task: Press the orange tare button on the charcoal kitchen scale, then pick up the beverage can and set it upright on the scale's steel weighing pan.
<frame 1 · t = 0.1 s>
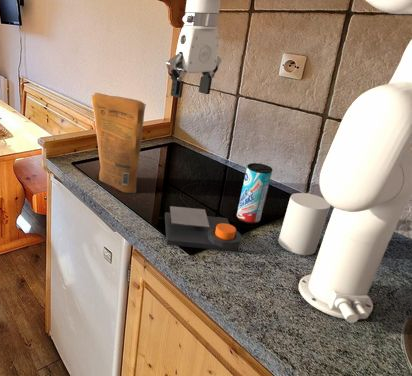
hand: (190, 94, 101), 31 cm above the worktop, tool pointing down, fingers open, 9 cm apart
pancake mix bag: (114, 185, 126), on the worktop
beverage can: (247, 220, 108), on the worktop
scale: (198, 233, 101), on the worktop
weighing pan: (188, 217, 102), resting on scale
tare button: (225, 231, 95), point 4 cm above the worktop, slide at 0.1 cm
cup: (296, 245, 97), on the worktop
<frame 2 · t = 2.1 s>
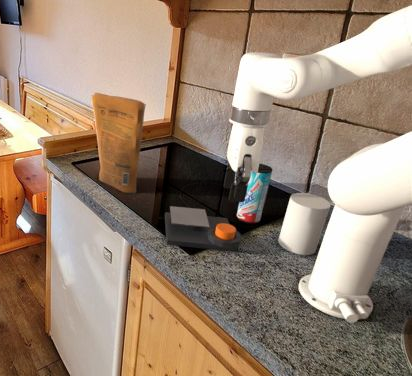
hand: (233, 193, 91), 14 cm above the worktop, tool pointing down, fingers open, 6 cm apart
nothing on the worktop moved.
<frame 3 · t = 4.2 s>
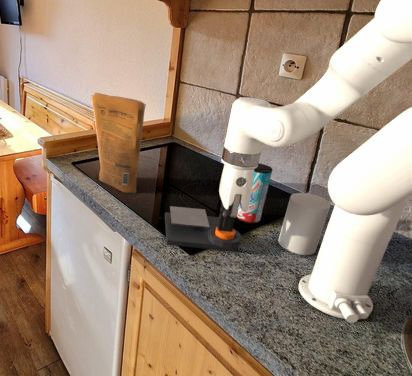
hand: (224, 229, 95), 4 cm above the worktop, tool pointing down, fingers closed
tare button: (225, 233, 95), point 3 cm above the worktop, slide at -0.5 cm, touching gripper
everything else where it was.
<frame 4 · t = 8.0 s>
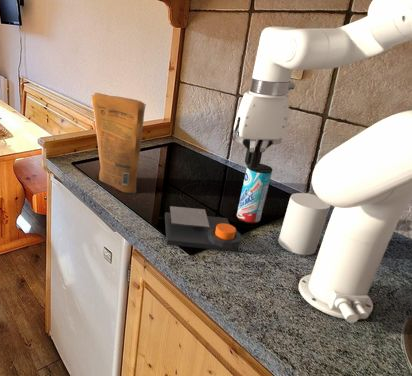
hand: (251, 166, 95), 18 cm above the worktop, tool pointing down, fingers closed
tare button: (225, 231, 95), point 4 cm above the worktop, slide at 0.1 cm
everything else where it was.
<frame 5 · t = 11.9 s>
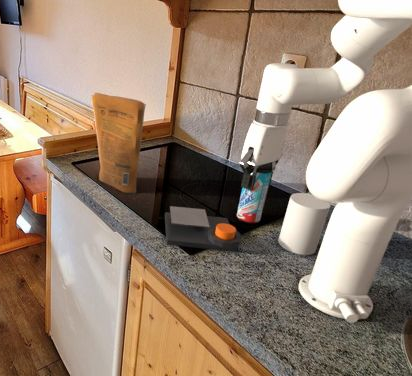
hand: (255, 185, 104), 10 cm above the worktop, tool pointing down, fingers closed on beverage can, 6 cm apart
beverage can: (247, 220, 108), on the worktop, touching gripper
everything else where it was.
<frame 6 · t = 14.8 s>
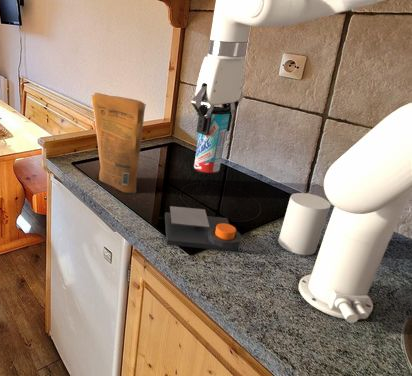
hand: (212, 131, 93), 25 cm above the worktop, tool pointing down, fingers closed on beverage can, 6 cm apart
beverage can: (205, 171, 98), point 15 cm above the worktop, touching gripper
everything else where it was.
when the fingers open (13 cm above the worktop, at t = 18.2 s): beverage can stays where it is, resting on weighing pan.
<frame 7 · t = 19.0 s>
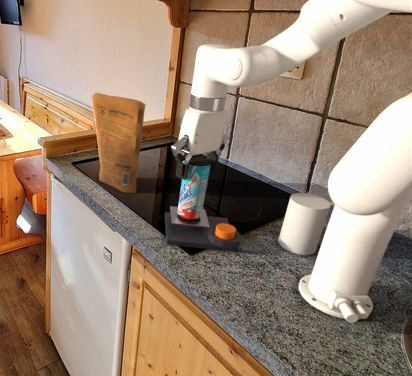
hand: (196, 174, 97), 15 cm above the worktop, tool pointing down, fingers open, 9 cm apart
beverage can: (188, 216, 102), point 3 cm above the worktop, touching weighing pan
everything else where it was.
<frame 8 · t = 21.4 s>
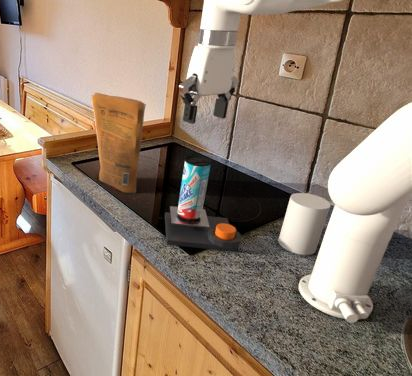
hand: (204, 119, 91), 28 cm above the worktop, tool pointing down, fingers open, 9 cm apart
nothing on the worktop moved.
at the end: tare button pushed in 1.0 cm at the most during the clip, back to where it started at the end; tare button slide at 0.1 cm; beverage can inside the target area on the scale (0.0 cm from its centre), point 3.2 cm above the scale's base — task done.
